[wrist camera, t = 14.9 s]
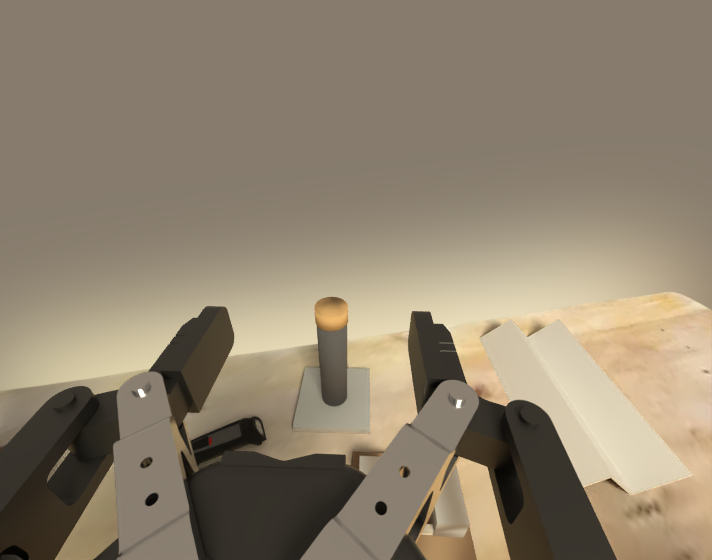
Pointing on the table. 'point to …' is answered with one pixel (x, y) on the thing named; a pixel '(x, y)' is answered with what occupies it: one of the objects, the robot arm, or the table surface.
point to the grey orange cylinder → (332, 348)
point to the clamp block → (438, 518)
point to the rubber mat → (339, 418)
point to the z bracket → (582, 407)
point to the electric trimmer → (228, 439)
